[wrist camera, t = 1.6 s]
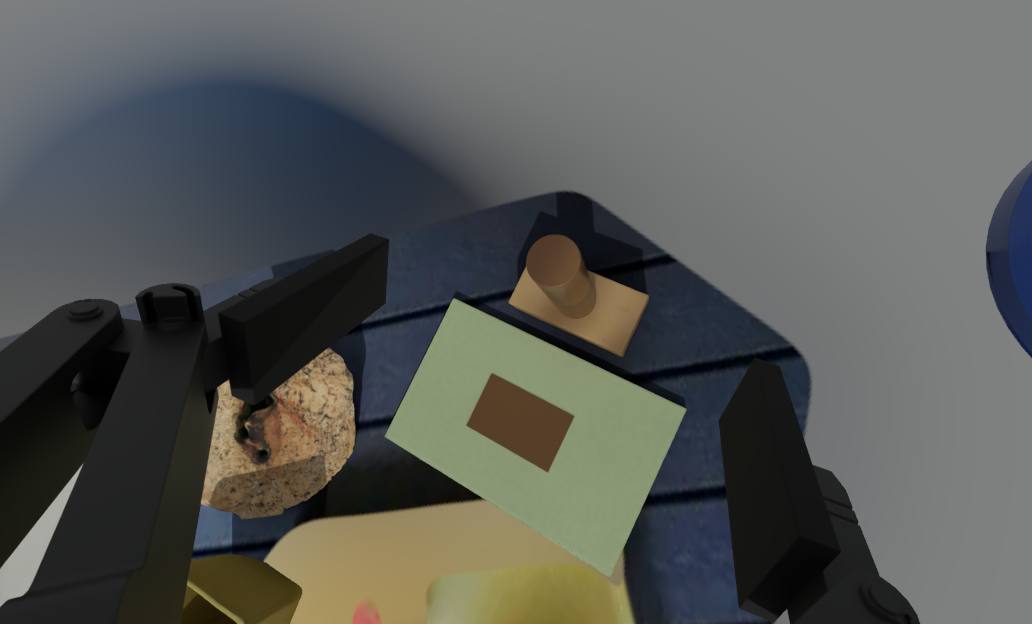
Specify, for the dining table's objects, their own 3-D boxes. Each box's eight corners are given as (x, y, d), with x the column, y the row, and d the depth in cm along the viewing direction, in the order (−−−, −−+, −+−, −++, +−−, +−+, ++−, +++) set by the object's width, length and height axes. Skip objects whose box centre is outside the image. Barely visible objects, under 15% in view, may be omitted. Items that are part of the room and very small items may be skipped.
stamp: (648, 304, 38) (654, 253, 25) (623, 358, 38) (615, 335, 25) (542, 260, 41) (498, 194, 28) (518, 310, 41) (461, 266, 28)
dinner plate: (-11, 440, 55) (-51, 442, 52) (173, 388, 49) (141, 387, 46) (-28, 706, 48) (-75, 728, 45) (181, 680, 43) (145, 702, 40)
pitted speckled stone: (382, 471, 48) (360, 515, 41) (244, 484, 48) (196, 530, 40) (358, 302, 45) (329, 316, 38) (211, 315, 45) (152, 331, 37)
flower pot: (218, 622, 43) (114, 677, 34) (257, 531, 44) (164, 563, 35) (289, 675, 40) (194, 749, 32) (328, 578, 41) (247, 624, 32)
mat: (686, 408, 36) (687, 409, 36) (610, 574, 35) (609, 577, 35) (455, 299, 43) (453, 297, 42) (387, 436, 42) (383, 436, 41)
